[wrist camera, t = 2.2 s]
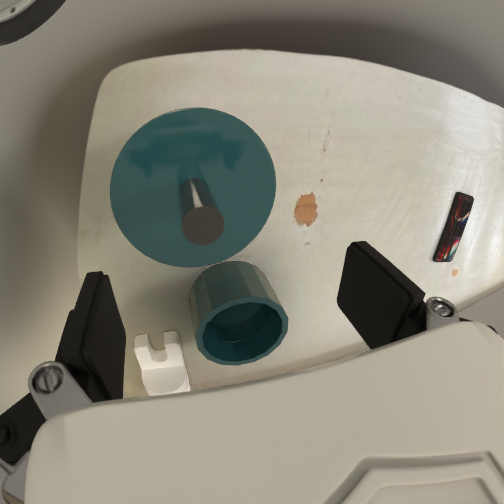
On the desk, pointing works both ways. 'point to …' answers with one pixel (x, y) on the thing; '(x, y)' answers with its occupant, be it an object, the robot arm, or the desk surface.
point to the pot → (236, 314)
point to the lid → (192, 187)
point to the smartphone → (454, 227)
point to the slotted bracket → (162, 365)
